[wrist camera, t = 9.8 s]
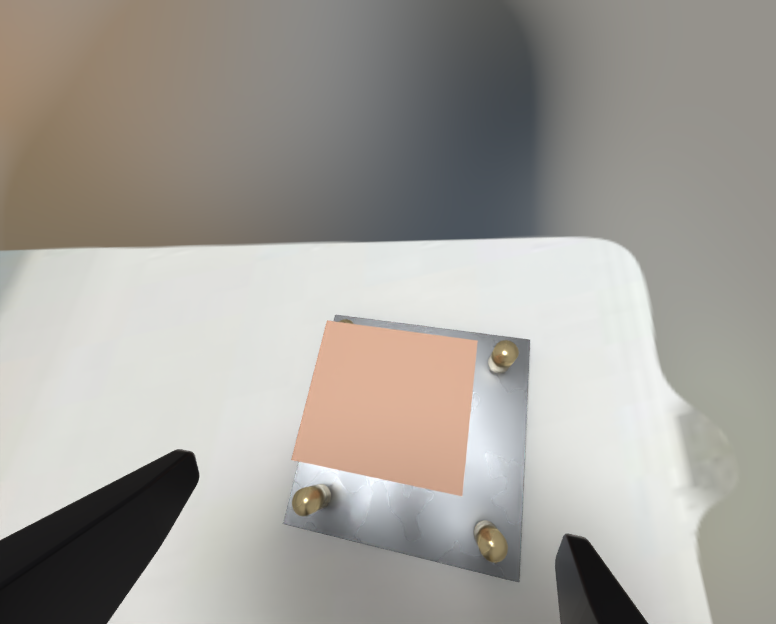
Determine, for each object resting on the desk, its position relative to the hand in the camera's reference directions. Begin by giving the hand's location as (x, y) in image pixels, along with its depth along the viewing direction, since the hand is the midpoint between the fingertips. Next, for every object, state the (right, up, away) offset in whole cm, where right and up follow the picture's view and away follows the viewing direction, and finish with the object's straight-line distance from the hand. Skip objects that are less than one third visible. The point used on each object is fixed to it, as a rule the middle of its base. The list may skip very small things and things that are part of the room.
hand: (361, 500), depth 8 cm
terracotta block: (+2, -2, +11) cm, 12 cm away
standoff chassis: (+2, -2, +12) cm, 13 cm away
